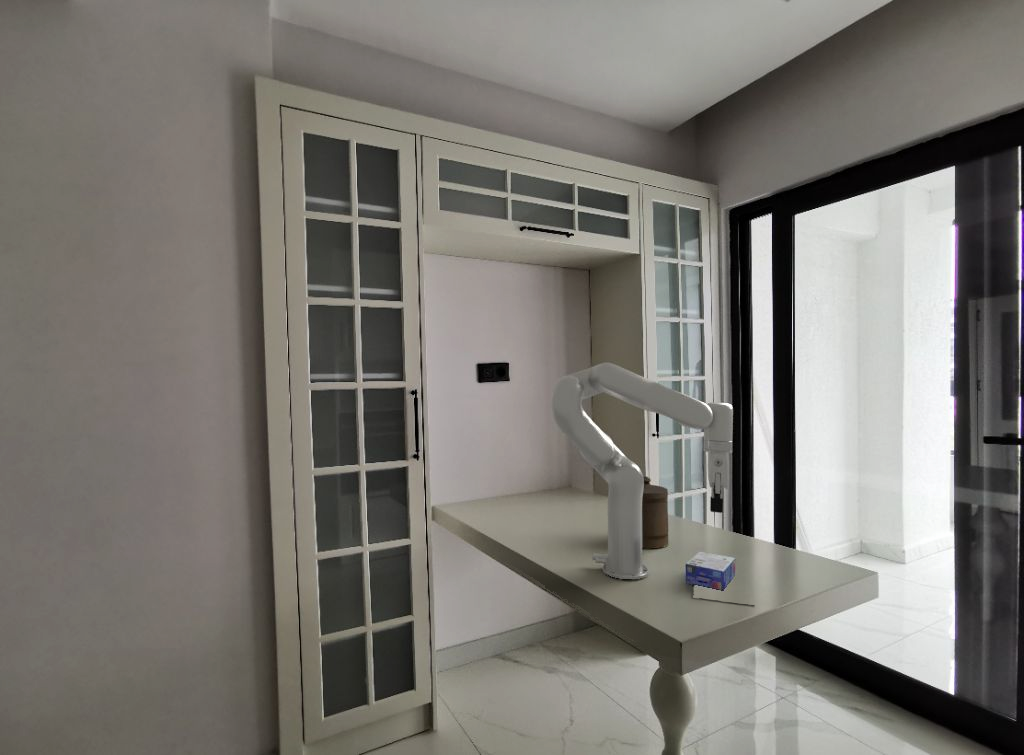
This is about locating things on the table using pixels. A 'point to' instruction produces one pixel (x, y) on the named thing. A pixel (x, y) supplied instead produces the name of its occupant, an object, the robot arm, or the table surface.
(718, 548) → the table surface
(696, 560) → the ink cartridge box
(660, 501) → the wooden container
